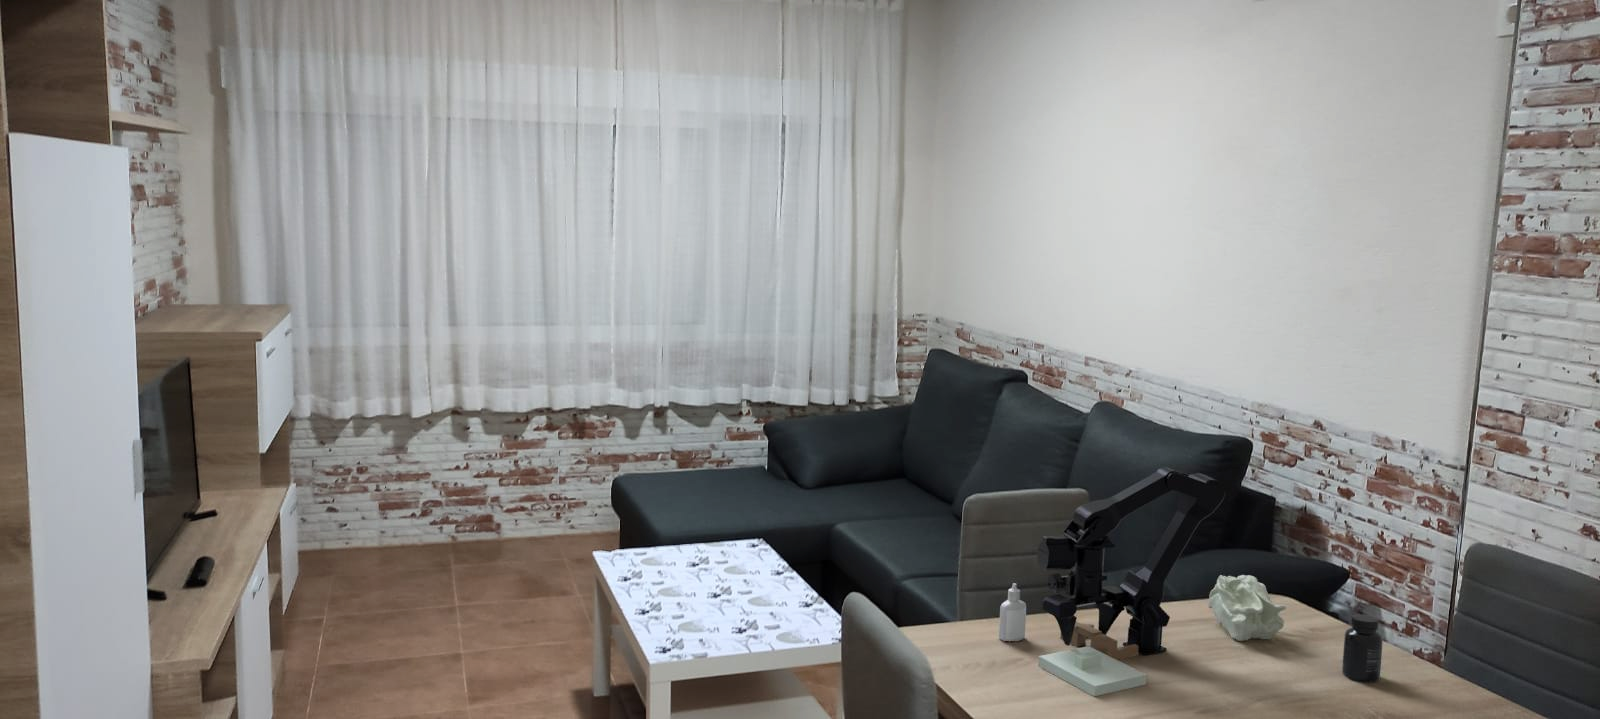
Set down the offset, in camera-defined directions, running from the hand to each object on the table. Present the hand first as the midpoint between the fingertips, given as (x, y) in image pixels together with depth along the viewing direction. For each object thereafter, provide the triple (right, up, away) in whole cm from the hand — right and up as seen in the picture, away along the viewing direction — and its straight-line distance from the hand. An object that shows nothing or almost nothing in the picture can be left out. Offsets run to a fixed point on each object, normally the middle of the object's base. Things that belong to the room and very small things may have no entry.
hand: (1084, 641), depth 238 cm
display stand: (-2, -4, -12) cm, 13 cm away
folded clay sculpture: (+38, -2, +14) cm, 40 cm away
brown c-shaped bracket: (+4, -2, +3) cm, 5 cm away
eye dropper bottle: (-14, -1, +7) cm, 15 cm away
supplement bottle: (+52, -5, -9) cm, 53 cm away
